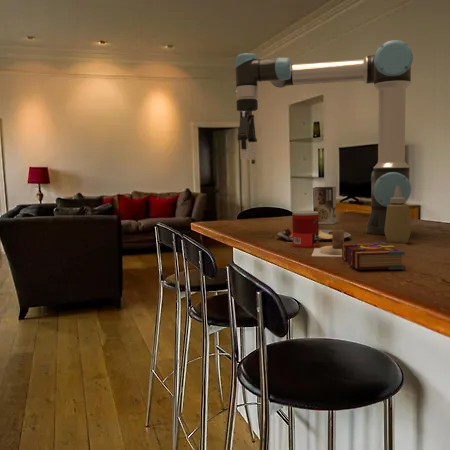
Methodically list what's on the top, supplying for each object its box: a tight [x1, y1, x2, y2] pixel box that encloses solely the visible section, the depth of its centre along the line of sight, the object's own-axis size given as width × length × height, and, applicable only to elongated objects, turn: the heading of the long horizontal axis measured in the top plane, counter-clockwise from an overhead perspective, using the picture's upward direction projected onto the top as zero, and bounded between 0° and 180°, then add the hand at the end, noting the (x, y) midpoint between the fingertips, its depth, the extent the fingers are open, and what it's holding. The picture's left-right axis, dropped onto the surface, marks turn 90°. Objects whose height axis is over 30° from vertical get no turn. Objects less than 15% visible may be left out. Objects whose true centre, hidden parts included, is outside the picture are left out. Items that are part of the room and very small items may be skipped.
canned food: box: [292, 210, 320, 249], centre depth 156 cm, size 8×8×11 cm
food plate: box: [276, 228, 352, 243], centre depth 176 cm, size 25×23×4 cm
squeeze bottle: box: [384, 186, 412, 244], centre depth 160 cm, size 8×8×18 cm
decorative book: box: [341, 241, 406, 271], centre depth 126 cm, size 11×16×5 cm
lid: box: [319, 229, 345, 255], centre depth 143 cm, size 10×10×6 cm
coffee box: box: [312, 186, 337, 225], centre depth 222 cm, size 9×6×16 cm
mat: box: [311, 247, 342, 258], centre depth 143 cm, size 14×14×1 cm
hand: (248, 159), depth 183 cm, fingers open, 13 cm apart
